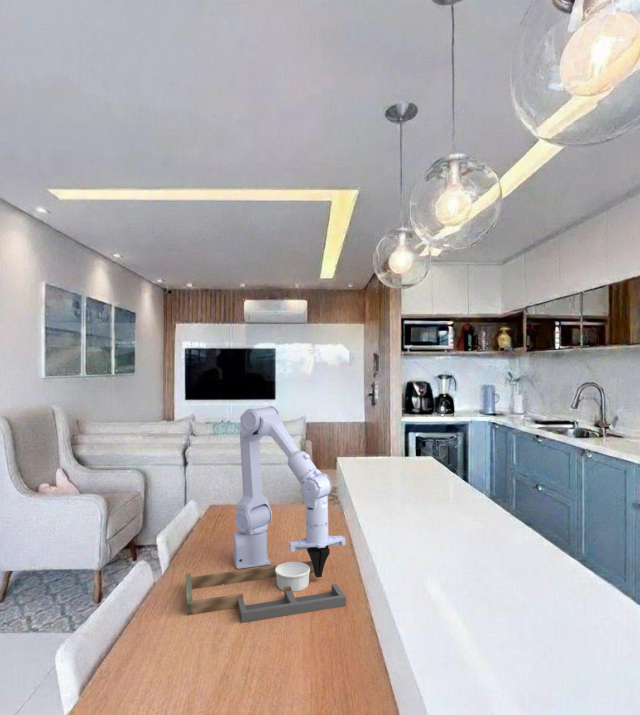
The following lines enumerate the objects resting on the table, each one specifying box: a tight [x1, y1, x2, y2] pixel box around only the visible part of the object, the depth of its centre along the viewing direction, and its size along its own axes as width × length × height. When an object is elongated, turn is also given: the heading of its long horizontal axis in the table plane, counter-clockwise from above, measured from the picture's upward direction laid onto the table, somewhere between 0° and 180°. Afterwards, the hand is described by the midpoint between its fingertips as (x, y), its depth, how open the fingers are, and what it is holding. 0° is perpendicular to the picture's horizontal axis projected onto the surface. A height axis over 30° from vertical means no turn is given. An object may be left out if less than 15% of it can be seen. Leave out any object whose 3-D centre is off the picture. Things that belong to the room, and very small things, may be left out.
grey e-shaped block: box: [237, 583, 347, 624], centre depth 115 cm, size 24×7×2 cm, turn 106°
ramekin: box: [275, 561, 311, 593], centre depth 126 cm, size 9×9×4 cm
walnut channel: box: [185, 560, 314, 616], centre depth 123 cm, size 34×14×4 cm, turn 106°
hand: (318, 575), depth 128 cm, fingers closed
